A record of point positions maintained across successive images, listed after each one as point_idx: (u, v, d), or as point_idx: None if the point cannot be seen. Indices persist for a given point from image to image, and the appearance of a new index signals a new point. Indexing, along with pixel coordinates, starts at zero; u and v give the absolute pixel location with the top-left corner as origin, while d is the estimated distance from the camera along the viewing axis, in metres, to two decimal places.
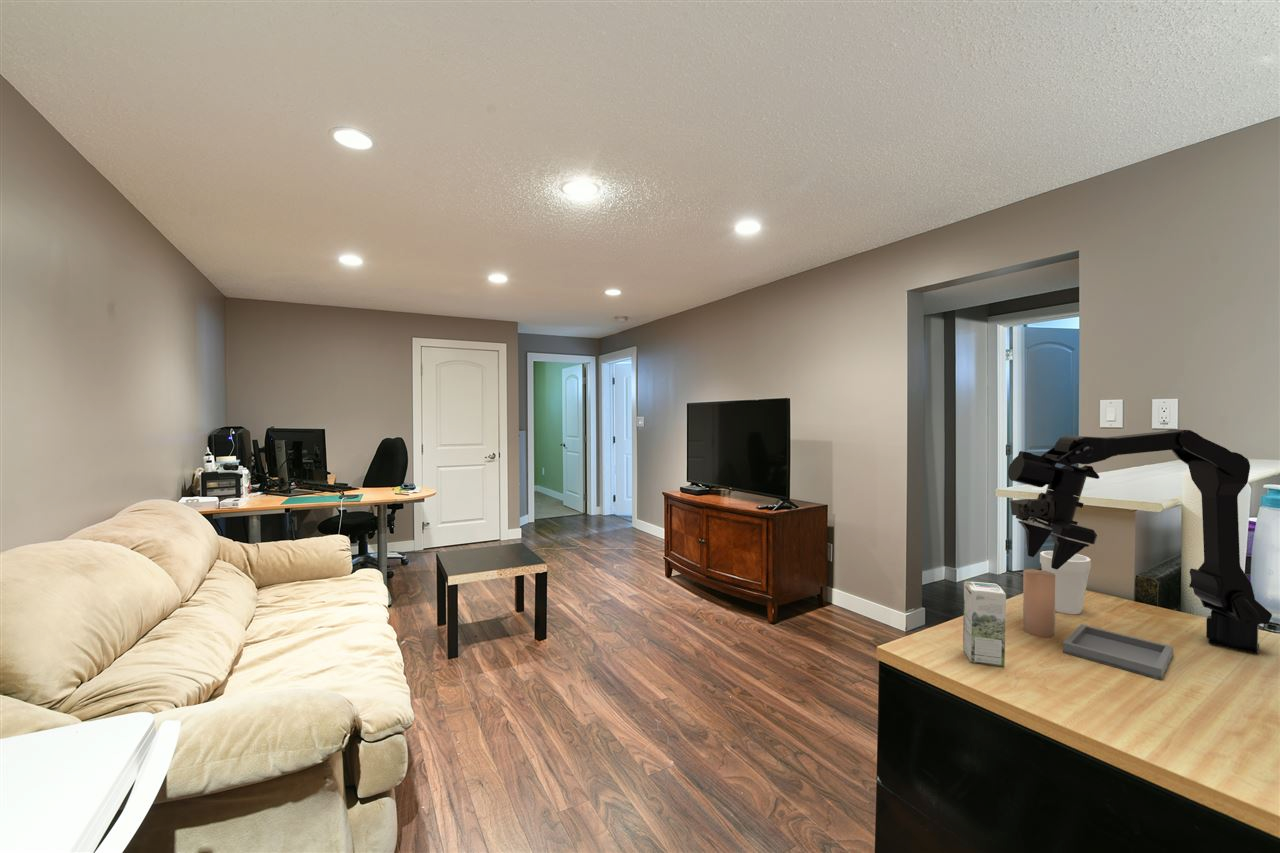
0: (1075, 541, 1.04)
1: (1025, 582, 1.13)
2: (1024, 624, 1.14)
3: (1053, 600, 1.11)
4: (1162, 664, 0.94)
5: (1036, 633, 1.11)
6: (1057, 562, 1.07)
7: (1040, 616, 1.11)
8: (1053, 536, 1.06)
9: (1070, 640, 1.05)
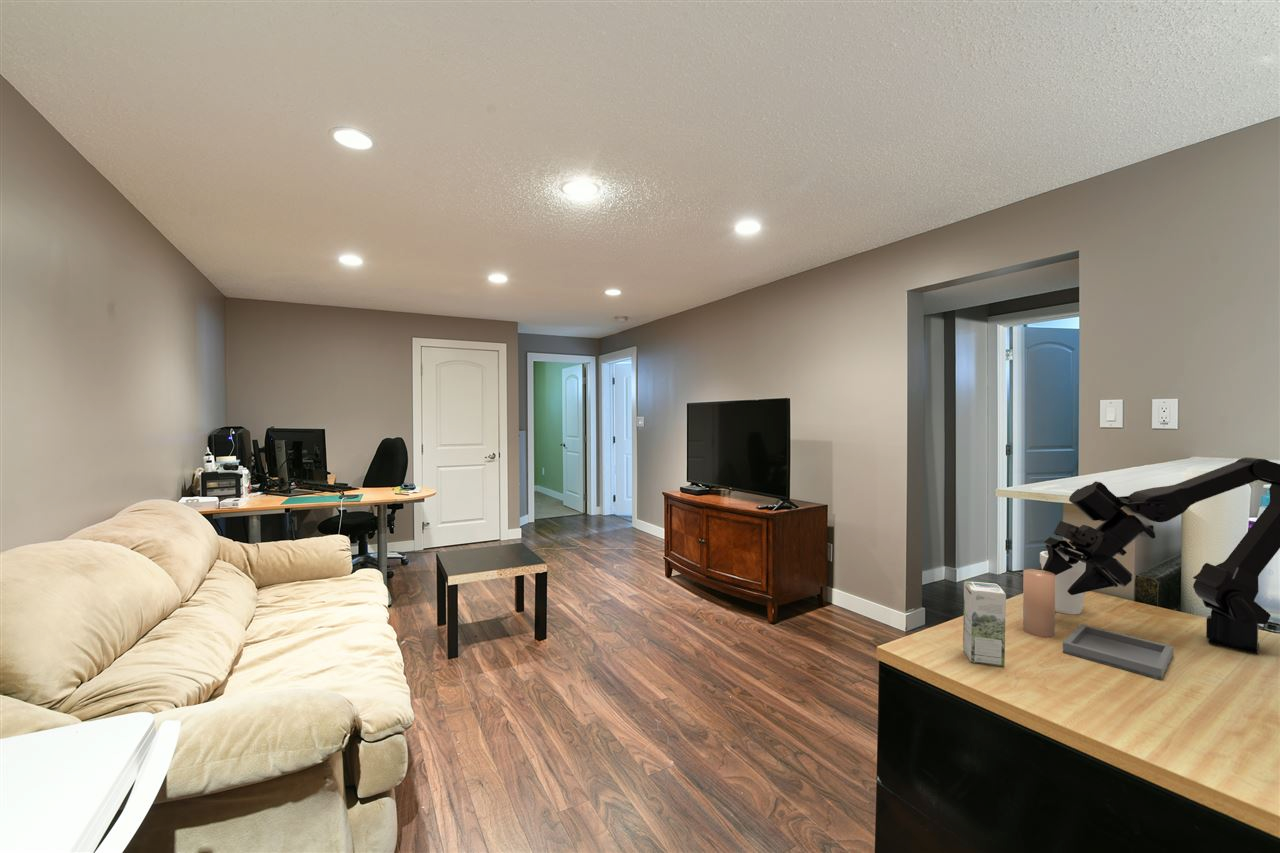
0: (1109, 576, 1.04)
1: (1025, 582, 1.13)
2: (1024, 624, 1.14)
3: (1053, 600, 1.11)
4: (1162, 664, 0.94)
5: (1036, 633, 1.11)
6: (1076, 588, 1.07)
7: (1040, 616, 1.11)
8: (1090, 564, 1.06)
9: (1070, 640, 1.05)
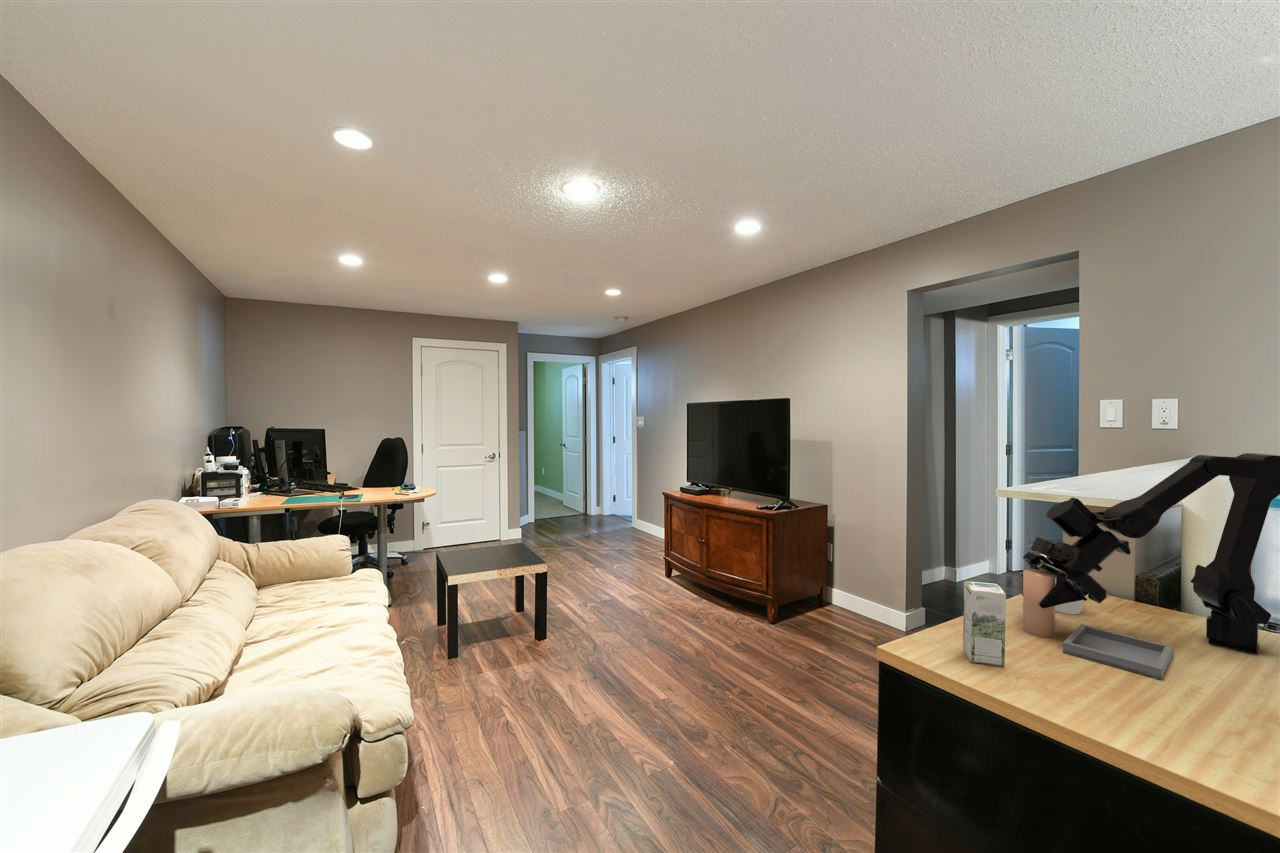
0: (1078, 590, 1.06)
1: (1025, 582, 1.13)
2: (1024, 624, 1.14)
3: None
4: (1162, 664, 0.94)
5: (1036, 633, 1.11)
6: (1047, 602, 1.10)
7: (1040, 616, 1.11)
8: (1060, 578, 1.08)
9: (1070, 640, 1.05)
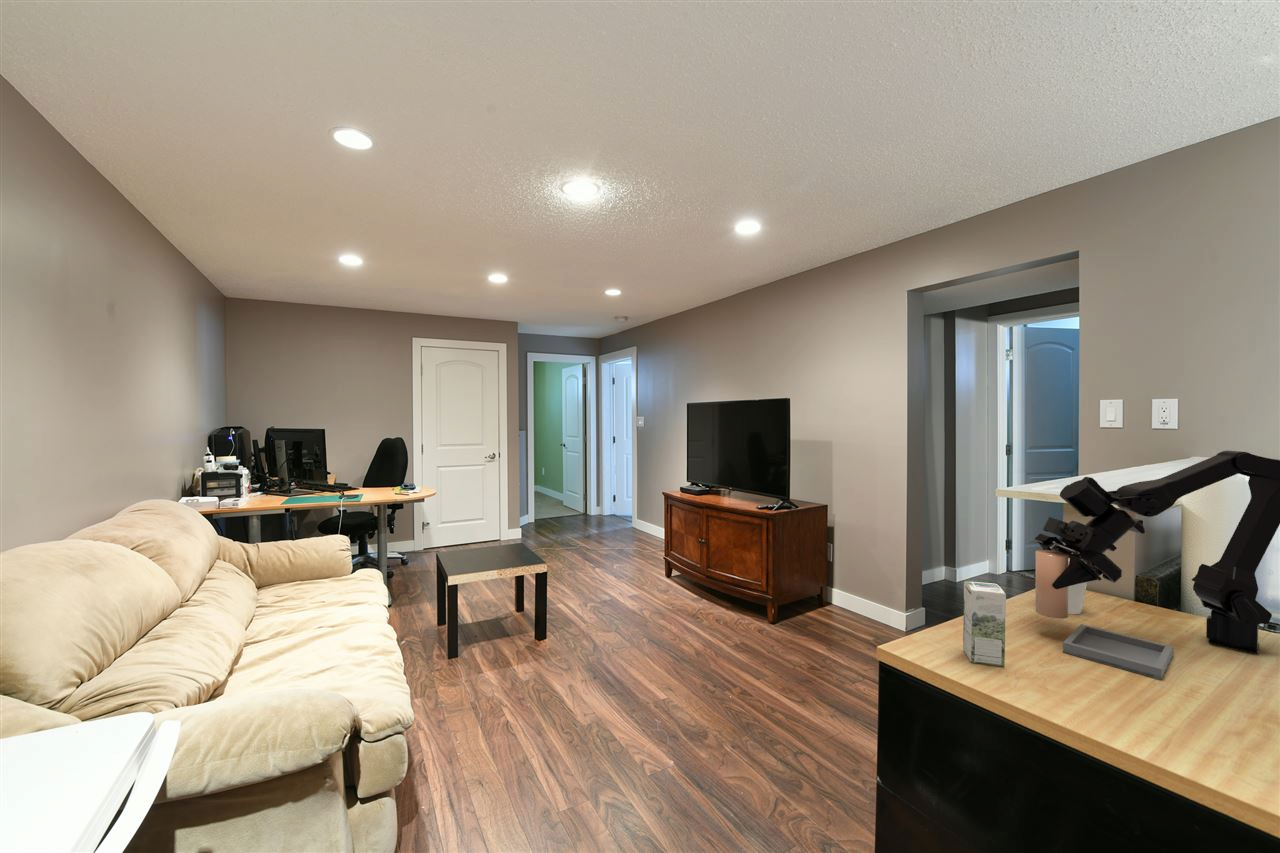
0: (1092, 570, 1.04)
1: (1037, 563, 1.12)
2: (1037, 606, 1.12)
3: None
4: (1162, 664, 0.94)
5: (1049, 614, 1.10)
6: (1060, 583, 1.08)
7: (1053, 597, 1.09)
8: (1073, 558, 1.06)
9: (1070, 640, 1.05)
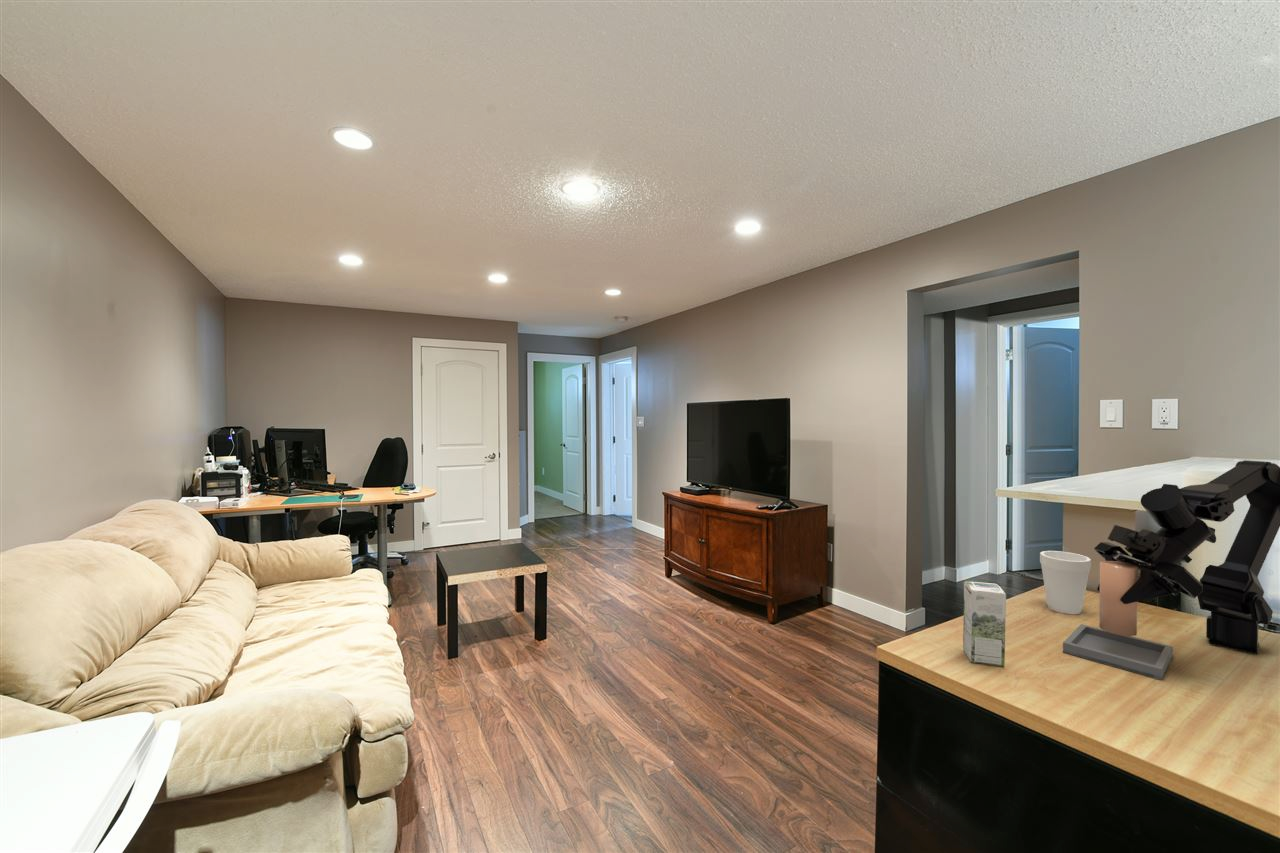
0: (1167, 584, 0.95)
1: (1103, 575, 1.02)
2: (1101, 621, 1.03)
3: None
4: (1162, 664, 0.94)
5: (1116, 631, 1.01)
6: (1130, 597, 0.99)
7: (1121, 613, 1.00)
8: (1146, 570, 0.97)
9: (1070, 640, 1.05)
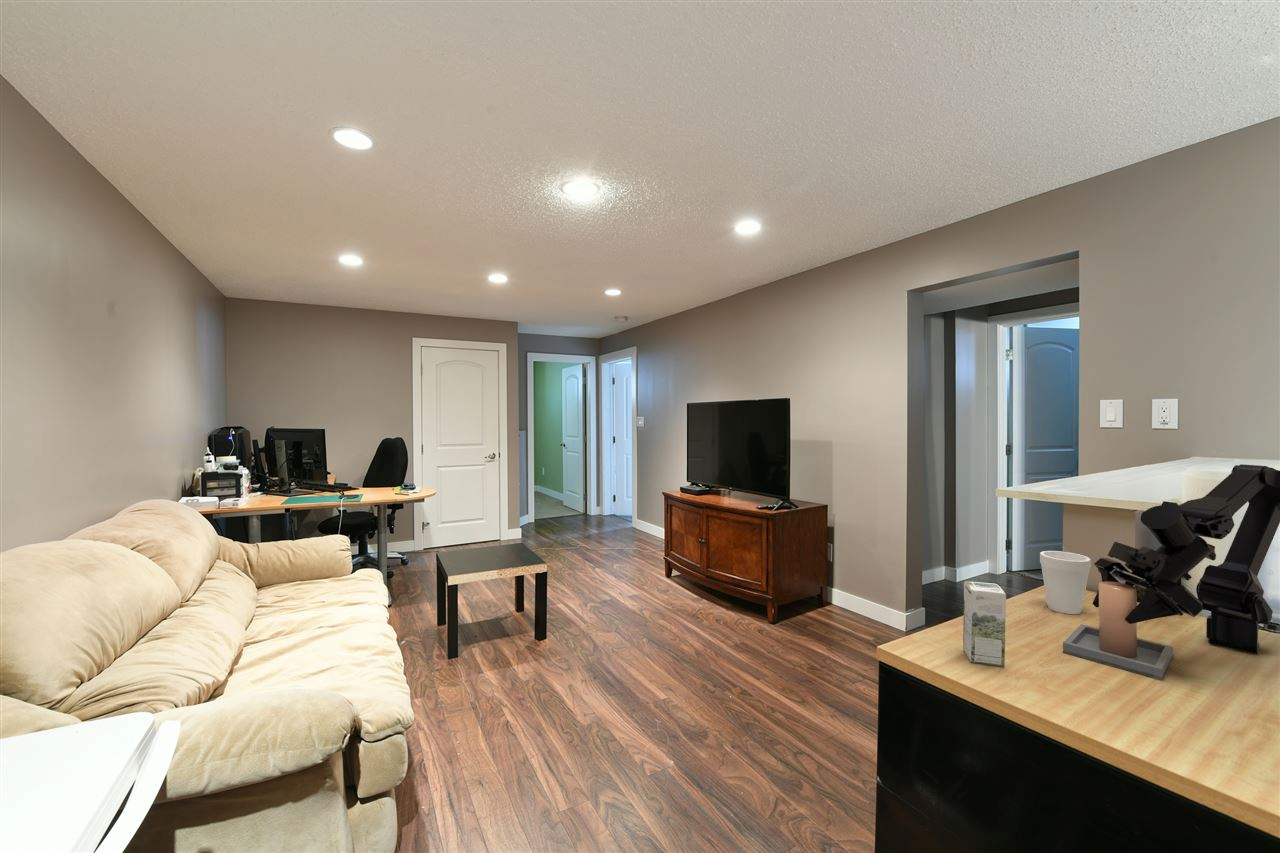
0: (1173, 604, 0.94)
1: (1102, 597, 1.03)
2: (1101, 643, 1.03)
3: None
4: (1162, 664, 0.94)
5: (1116, 653, 1.01)
6: (1135, 617, 0.98)
7: (1121, 635, 1.00)
8: (1151, 590, 0.96)
9: (1070, 640, 1.05)
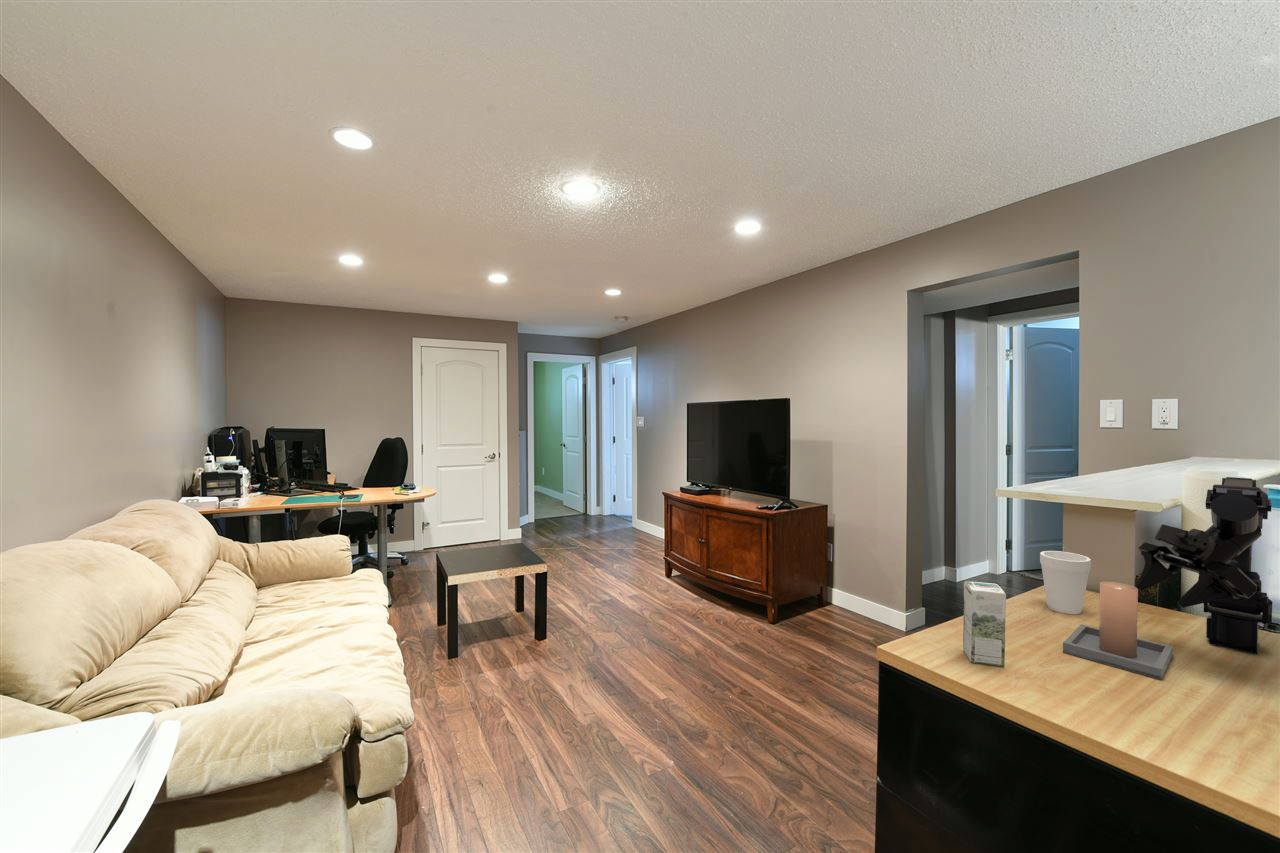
0: (1228, 587, 0.93)
1: (1103, 596, 1.03)
2: (1101, 642, 1.03)
3: (1136, 616, 1.00)
4: (1162, 664, 0.94)
5: (1117, 653, 1.01)
6: (1188, 600, 0.96)
7: (1121, 634, 1.00)
8: (1205, 573, 0.95)
9: (1070, 640, 1.05)
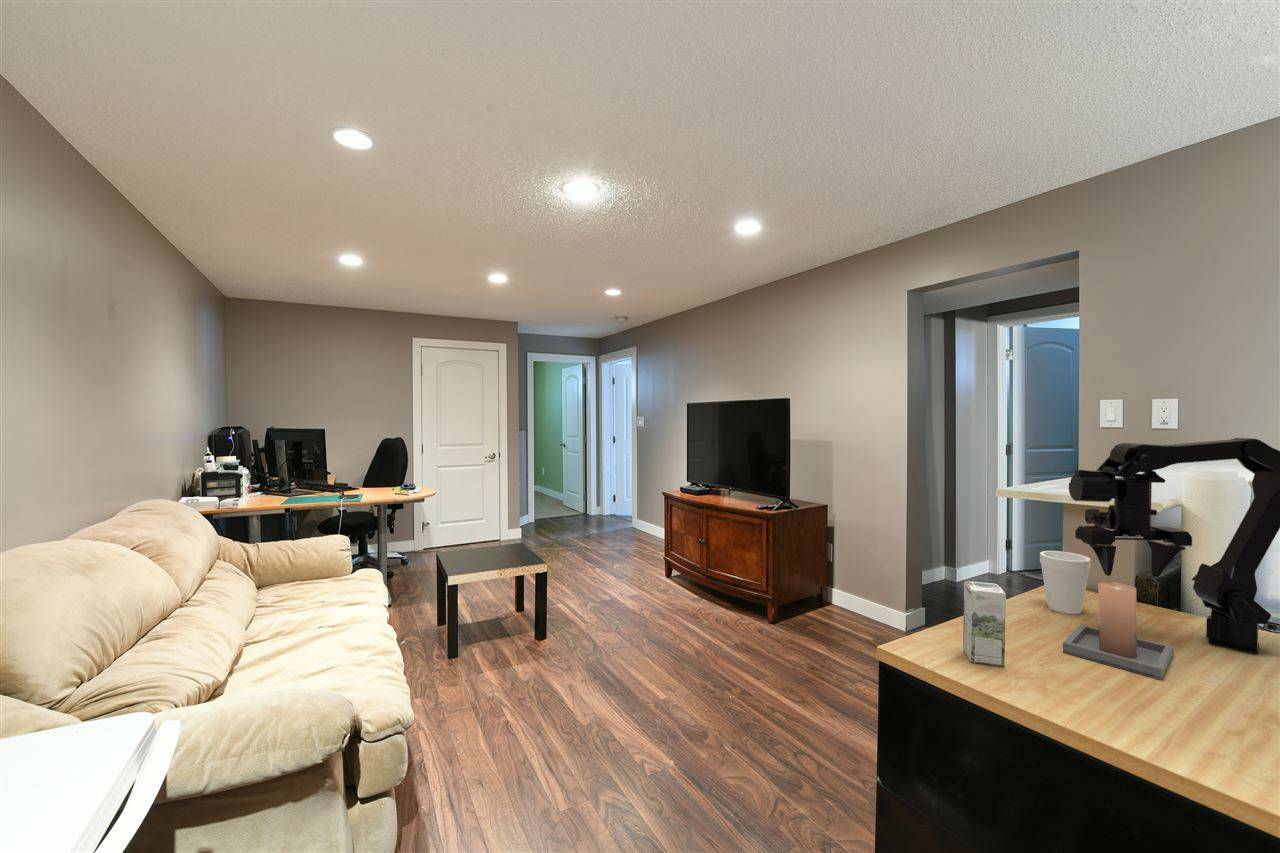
0: (1091, 543, 1.11)
1: (1102, 597, 1.03)
2: (1101, 643, 1.03)
3: (1135, 616, 1.00)
4: (1162, 664, 0.94)
5: (1117, 653, 1.01)
6: (1103, 568, 1.11)
7: (1121, 635, 1.00)
8: None
9: (1070, 640, 1.05)
